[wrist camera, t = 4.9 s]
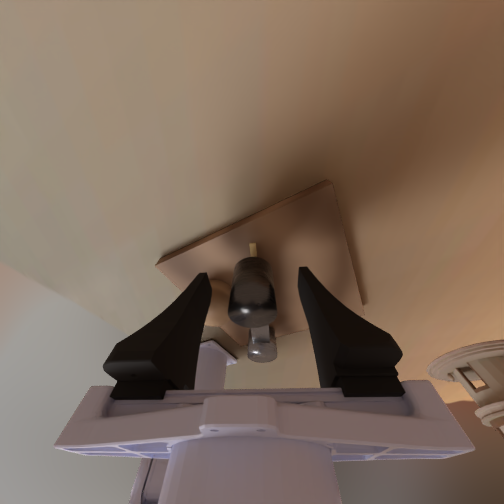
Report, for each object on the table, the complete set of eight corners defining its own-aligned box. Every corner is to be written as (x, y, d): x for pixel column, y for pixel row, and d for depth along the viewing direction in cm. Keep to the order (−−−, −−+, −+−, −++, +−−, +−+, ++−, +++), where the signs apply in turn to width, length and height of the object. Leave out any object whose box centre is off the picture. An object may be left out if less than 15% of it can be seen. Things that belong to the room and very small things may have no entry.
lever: (275, 339, 25) (280, 394, 20) (249, 339, 25) (248, 394, 20) (272, 239, 16) (280, 295, 10) (231, 242, 16) (220, 299, 11)
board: (241, 338, 29) (240, 346, 27) (159, 258, 19) (154, 266, 18) (360, 307, 24) (365, 315, 23) (327, 179, 14) (332, 183, 13)
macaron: (211, 307, 22) (206, 329, 20) (191, 286, 20) (182, 309, 18) (239, 297, 21) (237, 320, 19) (221, 275, 19) (216, 297, 17)
